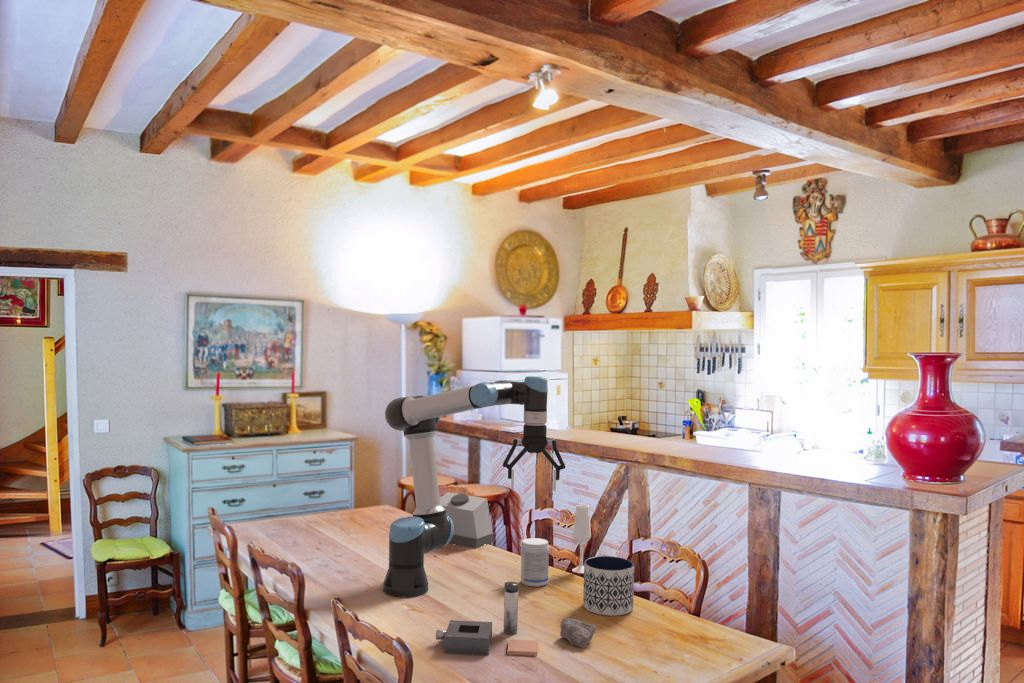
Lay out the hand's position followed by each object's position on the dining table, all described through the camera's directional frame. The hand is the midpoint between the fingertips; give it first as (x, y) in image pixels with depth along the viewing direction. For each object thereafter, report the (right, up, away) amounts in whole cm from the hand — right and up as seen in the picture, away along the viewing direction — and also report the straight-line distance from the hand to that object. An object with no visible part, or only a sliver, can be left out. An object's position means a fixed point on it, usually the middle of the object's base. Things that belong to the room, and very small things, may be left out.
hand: (533, 489), depth 246 cm
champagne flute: (+19, -37, +36) cm, 55 cm away
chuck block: (-20, -36, -36) cm, 55 cm away
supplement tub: (+1, -37, +20) cm, 42 cm away
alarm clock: (-27, -36, +72) cm, 86 cm away
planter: (+24, -37, -3) cm, 44 cm away
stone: (+11, -37, -31) cm, 50 cm away
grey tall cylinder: (-7, -36, -26) cm, 45 cm away
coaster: (-4, -36, -38) cm, 53 cm away
